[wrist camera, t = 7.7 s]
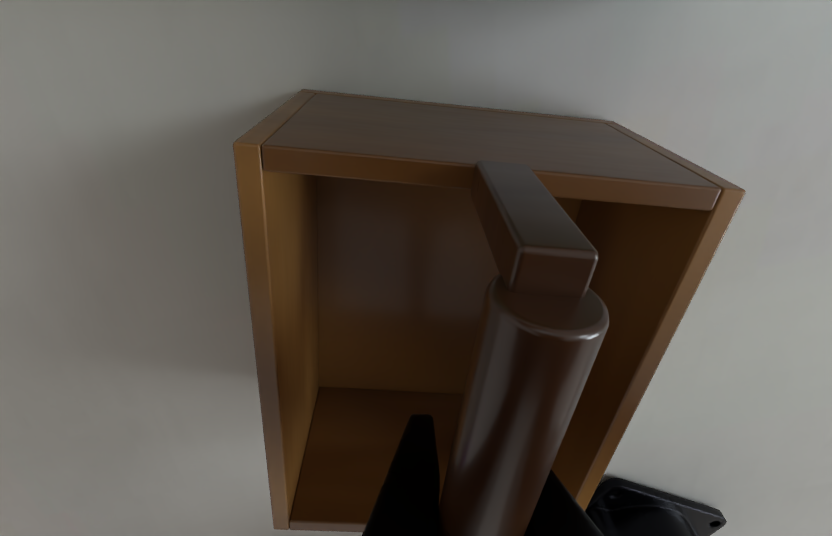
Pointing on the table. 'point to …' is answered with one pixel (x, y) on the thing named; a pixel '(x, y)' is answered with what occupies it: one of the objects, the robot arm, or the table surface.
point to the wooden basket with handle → (459, 297)
